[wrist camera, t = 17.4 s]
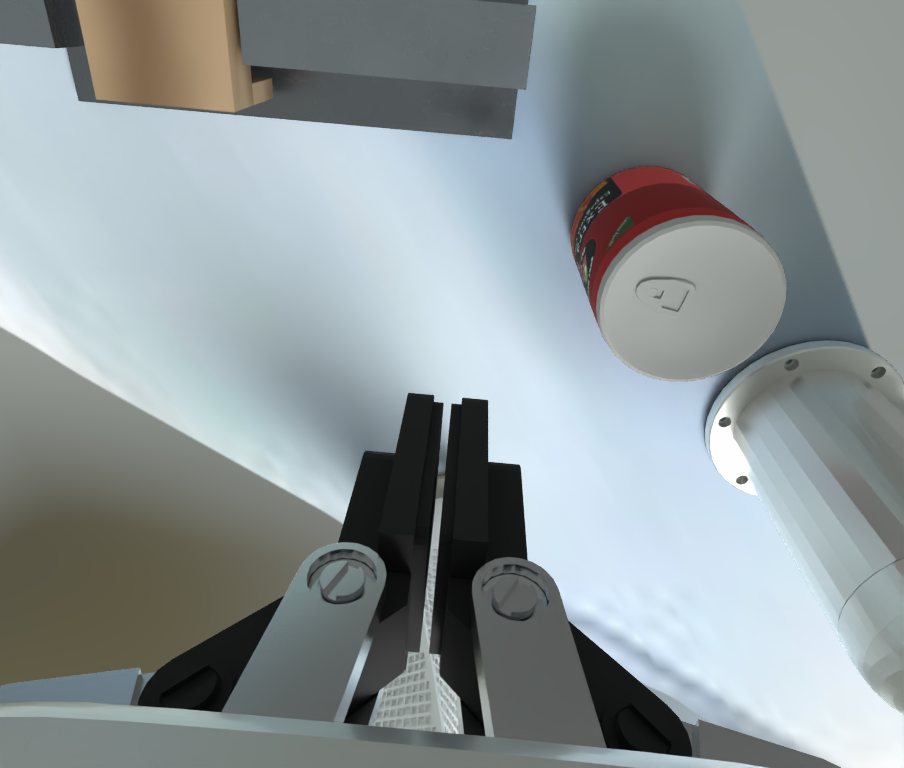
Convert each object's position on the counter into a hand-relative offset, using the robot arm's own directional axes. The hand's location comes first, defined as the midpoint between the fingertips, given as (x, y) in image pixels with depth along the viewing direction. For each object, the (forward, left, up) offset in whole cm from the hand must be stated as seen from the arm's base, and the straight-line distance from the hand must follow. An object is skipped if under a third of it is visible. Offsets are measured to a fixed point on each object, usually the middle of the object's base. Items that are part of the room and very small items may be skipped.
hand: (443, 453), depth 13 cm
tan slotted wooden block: (+13, -7, -23) cm, 28 cm away
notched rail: (+10, -7, -25) cm, 28 cm away
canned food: (-10, +2, -25) cm, 27 cm away
